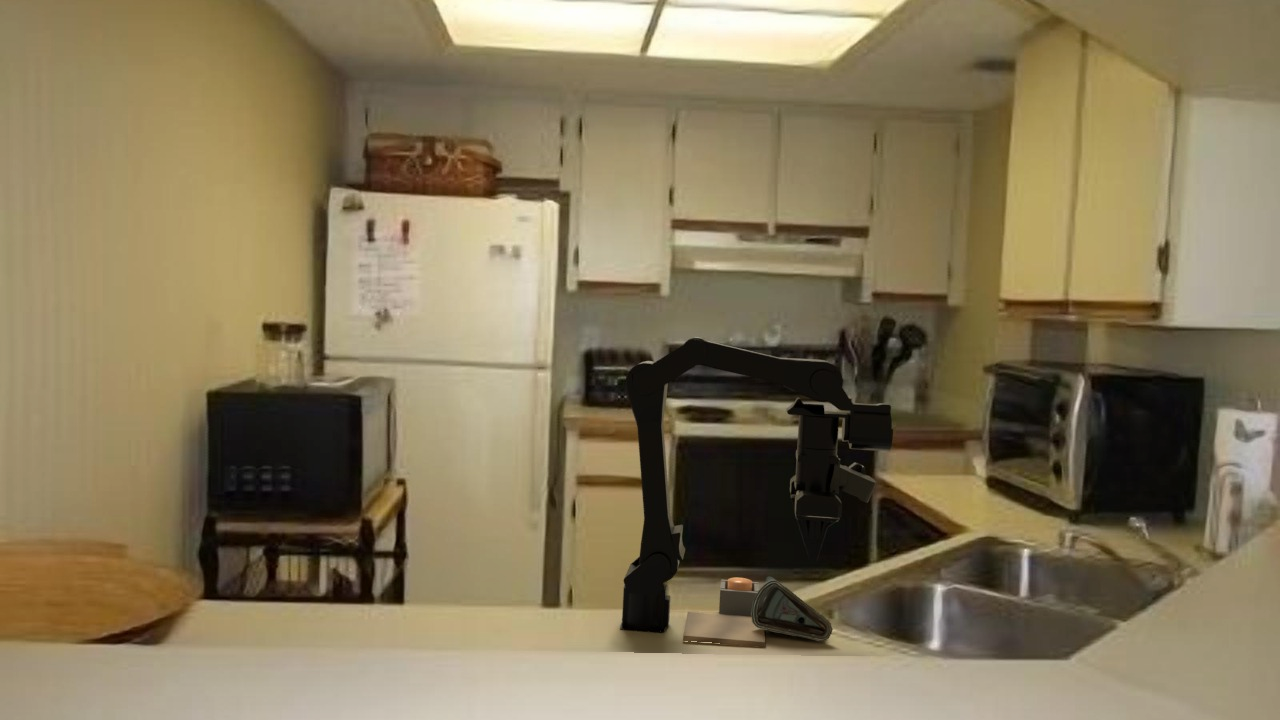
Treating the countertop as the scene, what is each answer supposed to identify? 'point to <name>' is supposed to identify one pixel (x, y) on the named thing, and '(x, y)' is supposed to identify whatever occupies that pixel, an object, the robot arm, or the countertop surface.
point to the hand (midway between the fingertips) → (811, 553)
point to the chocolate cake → (787, 613)
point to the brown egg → (739, 584)
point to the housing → (736, 600)
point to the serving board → (722, 629)
